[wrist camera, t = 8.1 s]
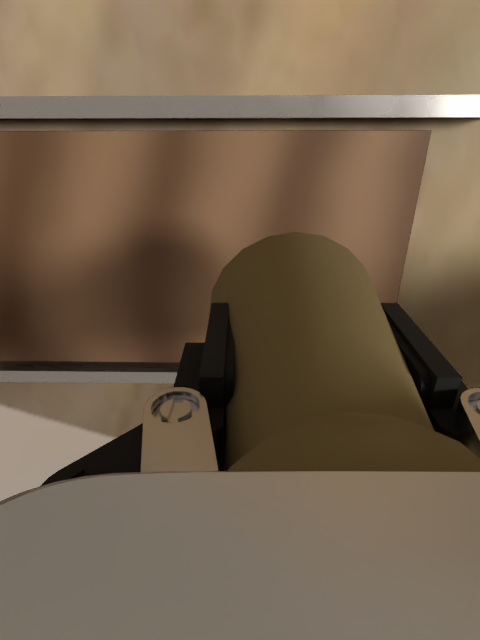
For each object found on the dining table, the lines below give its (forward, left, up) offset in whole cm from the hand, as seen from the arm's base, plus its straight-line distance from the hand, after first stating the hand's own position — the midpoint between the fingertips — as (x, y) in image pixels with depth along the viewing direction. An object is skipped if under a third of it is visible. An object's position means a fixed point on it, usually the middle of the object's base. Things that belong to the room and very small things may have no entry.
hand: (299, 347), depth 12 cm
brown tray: (+6, 0, -10) cm, 11 cm away
